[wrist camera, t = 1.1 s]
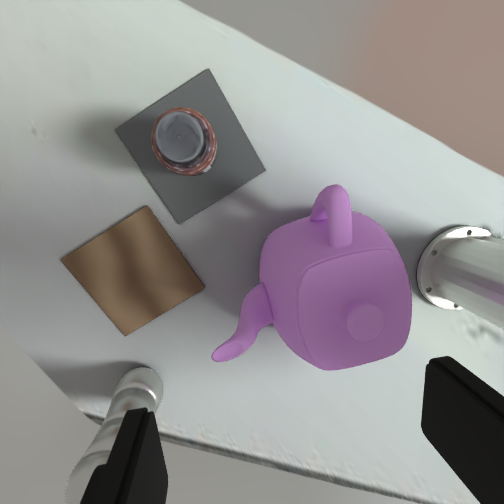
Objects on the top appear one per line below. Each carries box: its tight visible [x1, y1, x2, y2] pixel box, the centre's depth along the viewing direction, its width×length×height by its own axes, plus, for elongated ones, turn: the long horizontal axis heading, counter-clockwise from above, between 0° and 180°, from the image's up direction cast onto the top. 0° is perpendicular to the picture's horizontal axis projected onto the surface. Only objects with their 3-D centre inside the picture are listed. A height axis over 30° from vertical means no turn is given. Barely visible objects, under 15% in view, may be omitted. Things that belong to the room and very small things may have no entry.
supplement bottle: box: [151, 107, 217, 176], centre depth 28 cm, size 6×6×11 cm
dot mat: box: [115, 69, 266, 224], centre depth 34 cm, size 13×13×1 cm
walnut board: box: [61, 206, 205, 336], centre depth 37 cm, size 13×13×1 cm
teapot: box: [212, 184, 412, 370], centre depth 32 cm, size 23×21×15 cm
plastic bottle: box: [65, 367, 163, 504], centre depth 32 cm, size 6×7×20 cm
